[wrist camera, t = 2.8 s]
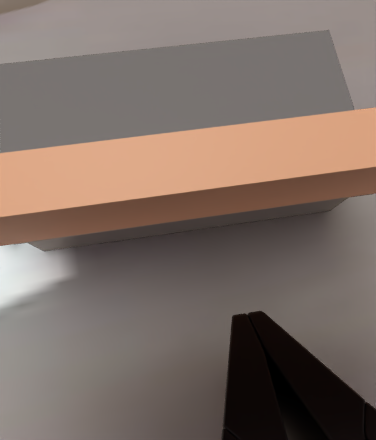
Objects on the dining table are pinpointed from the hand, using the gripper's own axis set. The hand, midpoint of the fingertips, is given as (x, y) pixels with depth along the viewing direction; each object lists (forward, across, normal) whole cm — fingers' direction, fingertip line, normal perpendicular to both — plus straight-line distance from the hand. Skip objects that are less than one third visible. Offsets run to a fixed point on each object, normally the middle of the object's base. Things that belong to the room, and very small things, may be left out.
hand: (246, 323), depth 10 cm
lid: (+5, 0, -3) cm, 5 cm away
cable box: (+17, +5, +2) cm, 18 cm away
